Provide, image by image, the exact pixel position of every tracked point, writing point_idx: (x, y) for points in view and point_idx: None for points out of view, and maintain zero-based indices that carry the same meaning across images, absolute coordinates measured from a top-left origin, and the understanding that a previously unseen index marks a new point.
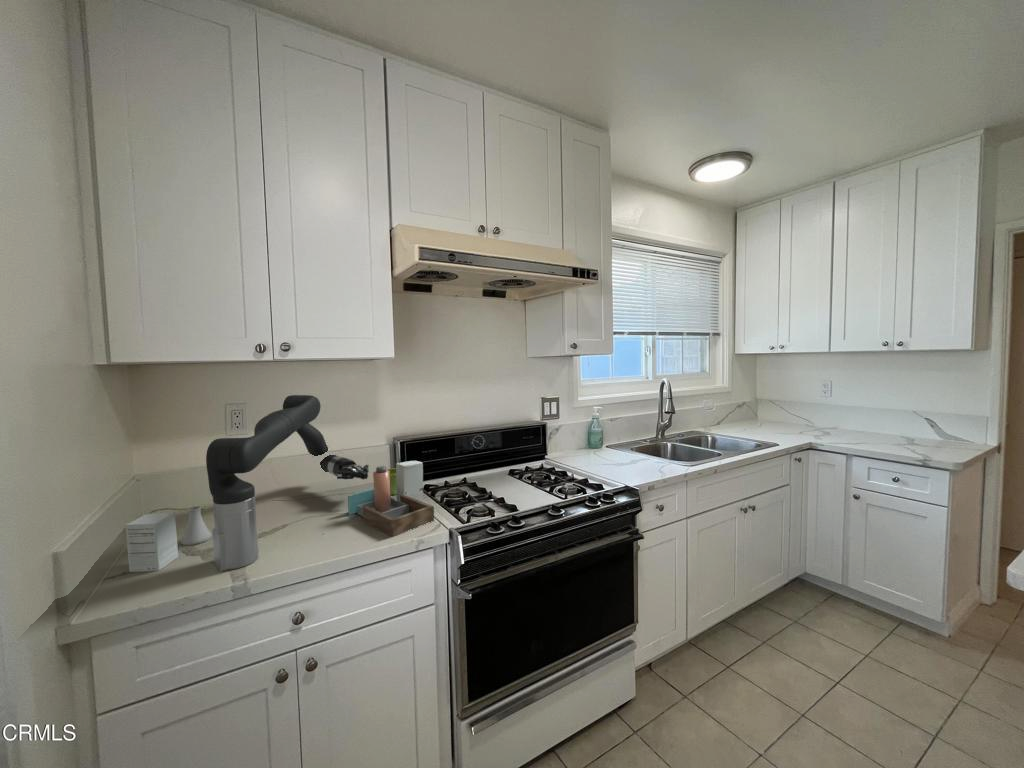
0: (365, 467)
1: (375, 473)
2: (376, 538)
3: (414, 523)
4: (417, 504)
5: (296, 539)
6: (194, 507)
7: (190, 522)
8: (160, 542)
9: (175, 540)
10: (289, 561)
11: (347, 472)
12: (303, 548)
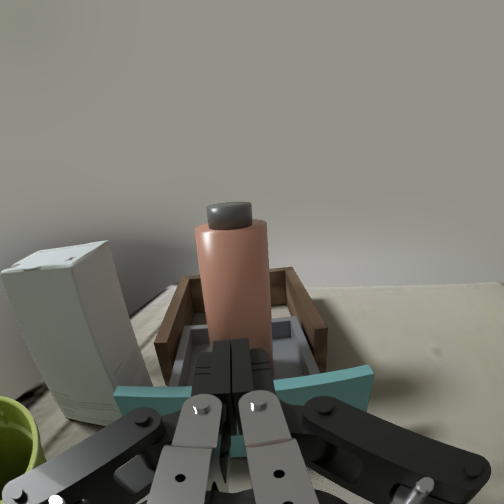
0: (98, 450)
1: (261, 222)
2: (324, 305)
3: None
4: (183, 303)
5: (491, 346)
6: None
7: None
8: None
9: None
10: (468, 296)
11: (369, 414)
12: (462, 317)
